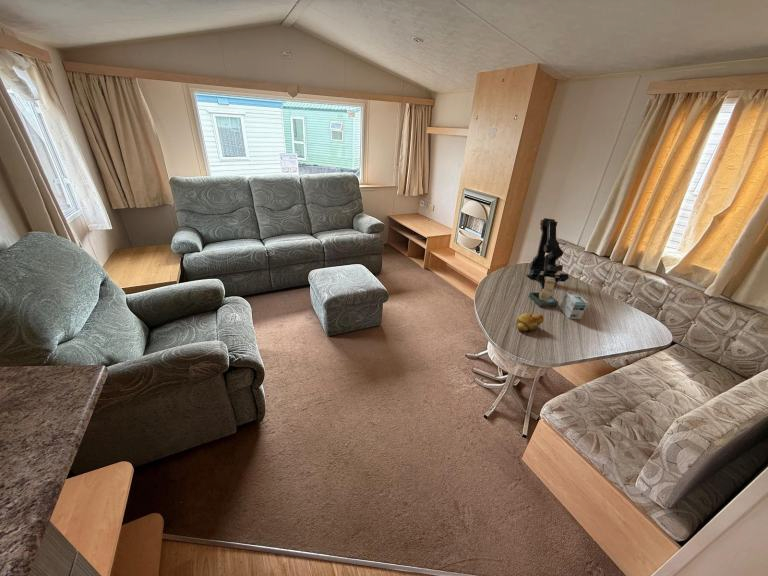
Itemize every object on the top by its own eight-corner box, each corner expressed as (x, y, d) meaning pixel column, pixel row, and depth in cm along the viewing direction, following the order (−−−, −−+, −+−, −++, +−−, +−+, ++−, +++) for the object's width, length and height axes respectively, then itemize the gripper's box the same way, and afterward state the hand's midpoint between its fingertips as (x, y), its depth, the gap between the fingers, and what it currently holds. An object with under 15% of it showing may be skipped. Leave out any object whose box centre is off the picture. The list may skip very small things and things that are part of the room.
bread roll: (524, 335, 148) (528, 322, 144) (508, 324, 155) (512, 311, 152) (541, 329, 154) (547, 316, 150) (526, 319, 161) (530, 306, 157)
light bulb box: (581, 320, 164) (588, 302, 159) (568, 319, 164) (575, 301, 159) (570, 309, 173) (577, 292, 168) (558, 308, 173) (565, 291, 168)
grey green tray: (528, 297, 182) (529, 292, 181) (545, 296, 184) (546, 292, 183) (539, 307, 173) (541, 302, 171) (556, 306, 174) (558, 302, 173)
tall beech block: (538, 295, 180) (545, 276, 174) (546, 297, 179) (554, 278, 173) (540, 299, 176) (547, 280, 170) (548, 301, 175) (555, 281, 169)
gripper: (537, 255, 171) (534, 282, 167) (574, 261, 168) (572, 288, 164) (531, 263, 182) (528, 288, 178) (565, 268, 178) (563, 294, 174)
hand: (547, 289), depth 173 cm, fingers closed on tall beech block, 4 cm apart
